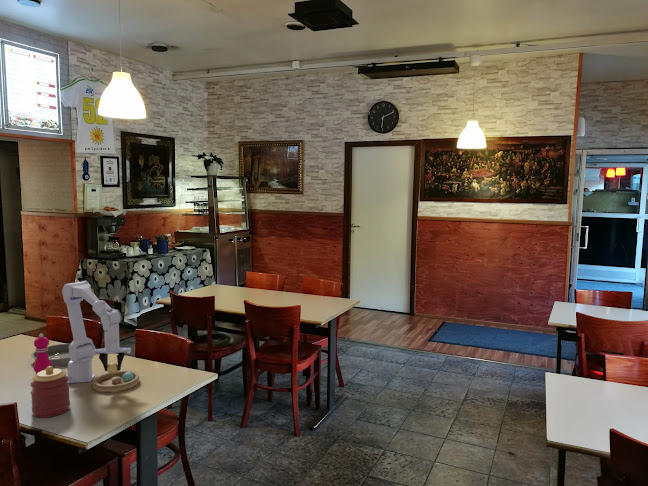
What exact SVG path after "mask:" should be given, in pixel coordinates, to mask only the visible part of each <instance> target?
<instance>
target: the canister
mask: <svg viewBox="0 0 648 486" xmlns="http://www.w3.org/2000/svg"><path fill="white" fill-rule="evenodd" d="M35 374H36V373H35ZM35 374H34V375H33V376H32V381H31V382H30V387H31V391H30V395H31V413H32V416H34V417H36V418H51V417H56V416H59V415H62V414H64V413H66V412H67V411H69V409H70V406H71V400H70V384H69V383H68V381H69V377H68V375H67V371H65V370H63V369H61V368H58V367H57V368H54V366H48V367H47V368H46V370H43V371H40V372H38V373H37V374H36V375H35Z"/></svg>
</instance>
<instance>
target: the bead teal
mask: <svg viewBox="0 0 648 486" xmlns="http://www.w3.org/2000/svg"><path fill="white" fill-rule="evenodd" d="M133 378H134V376H133V374H132V373H131V372H126V373H125V374H124V375H123V377H122V379H123V381H124V382H125V383H126V382H129V381H131V380H133Z"/></svg>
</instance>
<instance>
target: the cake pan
mask: <svg viewBox="0 0 648 486" xmlns="http://www.w3.org/2000/svg"><path fill="white" fill-rule="evenodd" d="M70 344H71V343H60V344H59V343H58V344H53V345H48V346H47V347H48V350H47V355H48V358H49V357H50V358H49V360H50V361H51V364H52V367H61V366H62V367H63V366H66V365H67V366H68V363H69V361H71V360H70V358H69V345H70ZM82 345H83V344H82ZM82 345H79V346H82ZM77 347H78V346H77ZM57 353H59V354H57ZM55 354H57V355H55ZM55 356H59V357H60V358H58V357H55ZM31 358H32V359H34V363H35V362H36V359H37V352H36V350H35V351H33V352H32V353H31ZM52 358H58V359H52Z"/></svg>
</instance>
